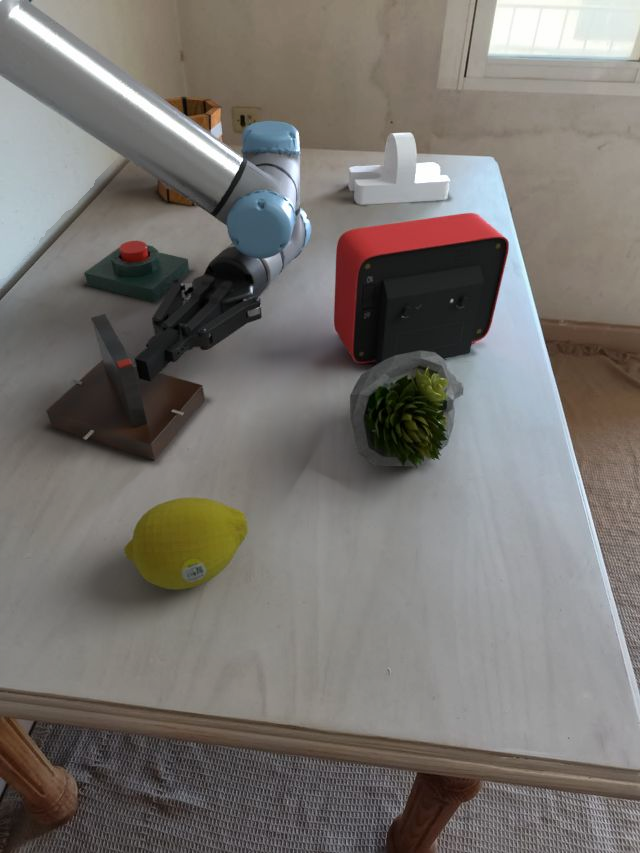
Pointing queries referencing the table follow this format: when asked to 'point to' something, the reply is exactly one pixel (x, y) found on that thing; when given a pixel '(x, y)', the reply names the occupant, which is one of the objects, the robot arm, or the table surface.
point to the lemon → (186, 542)
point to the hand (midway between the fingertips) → (142, 370)
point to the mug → (203, 115)
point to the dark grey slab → (119, 370)
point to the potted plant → (404, 409)
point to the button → (134, 251)
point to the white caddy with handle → (398, 176)
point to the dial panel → (107, 420)
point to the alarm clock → (417, 286)
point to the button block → (137, 274)
